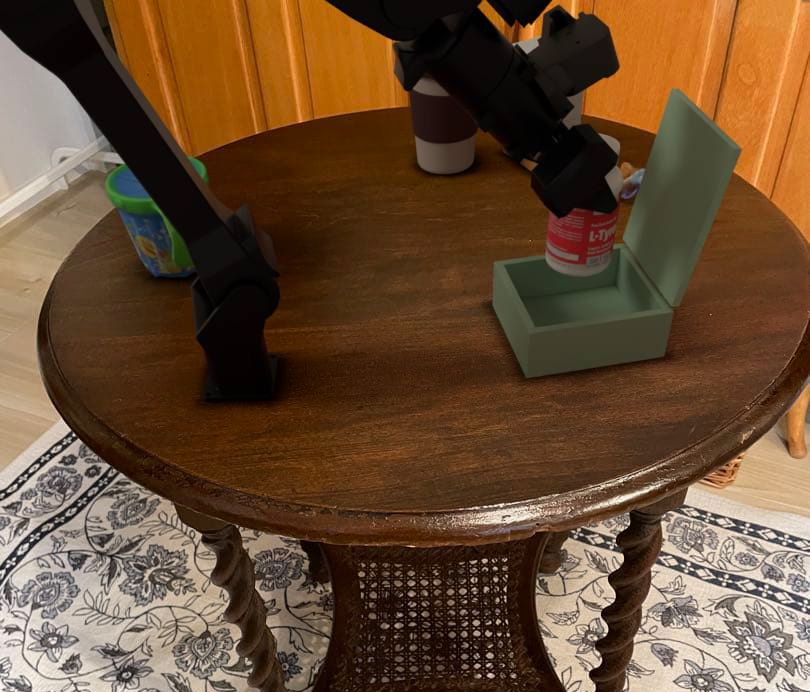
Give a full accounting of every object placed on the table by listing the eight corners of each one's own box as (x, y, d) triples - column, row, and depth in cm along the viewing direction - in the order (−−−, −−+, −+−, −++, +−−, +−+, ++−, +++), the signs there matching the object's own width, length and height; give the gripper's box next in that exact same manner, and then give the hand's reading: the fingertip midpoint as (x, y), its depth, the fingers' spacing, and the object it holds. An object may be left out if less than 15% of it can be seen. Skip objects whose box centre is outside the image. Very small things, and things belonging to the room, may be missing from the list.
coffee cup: (404, 149, 114) (399, 23, 103) (479, 143, 115) (481, 17, 103) (410, 183, 108) (404, 53, 97) (489, 177, 108) (492, 47, 97)
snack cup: (236, 289, 93) (217, 199, 86) (139, 309, 92) (110, 219, 84) (214, 222, 103) (195, 136, 96) (126, 239, 102) (99, 153, 94)
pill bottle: (589, 286, 79) (606, 166, 70) (532, 266, 81) (542, 148, 73) (622, 257, 82) (642, 139, 74) (566, 238, 84) (579, 122, 76)
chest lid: (733, 148, 68) (742, 148, 68) (671, 87, 76) (679, 88, 76) (671, 307, 78) (679, 307, 78) (622, 238, 86) (629, 238, 86)
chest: (526, 378, 81) (529, 333, 77) (492, 305, 89) (493, 261, 85) (664, 357, 82) (674, 311, 78) (618, 286, 90) (625, 242, 87)
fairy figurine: (662, 213, 93) (588, 162, 99) (651, 252, 97) (581, 200, 103) (736, 182, 97) (661, 135, 103) (723, 220, 101) (651, 172, 107)
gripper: (610, 24, 57) (723, 165, 67) (522, -51, 70) (628, 78, 79) (492, 157, 62) (613, 271, 72) (429, 66, 75) (540, 174, 84)
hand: (600, 192), depth 77 cm, fingers closed on pill bottle, 6 cm apart
